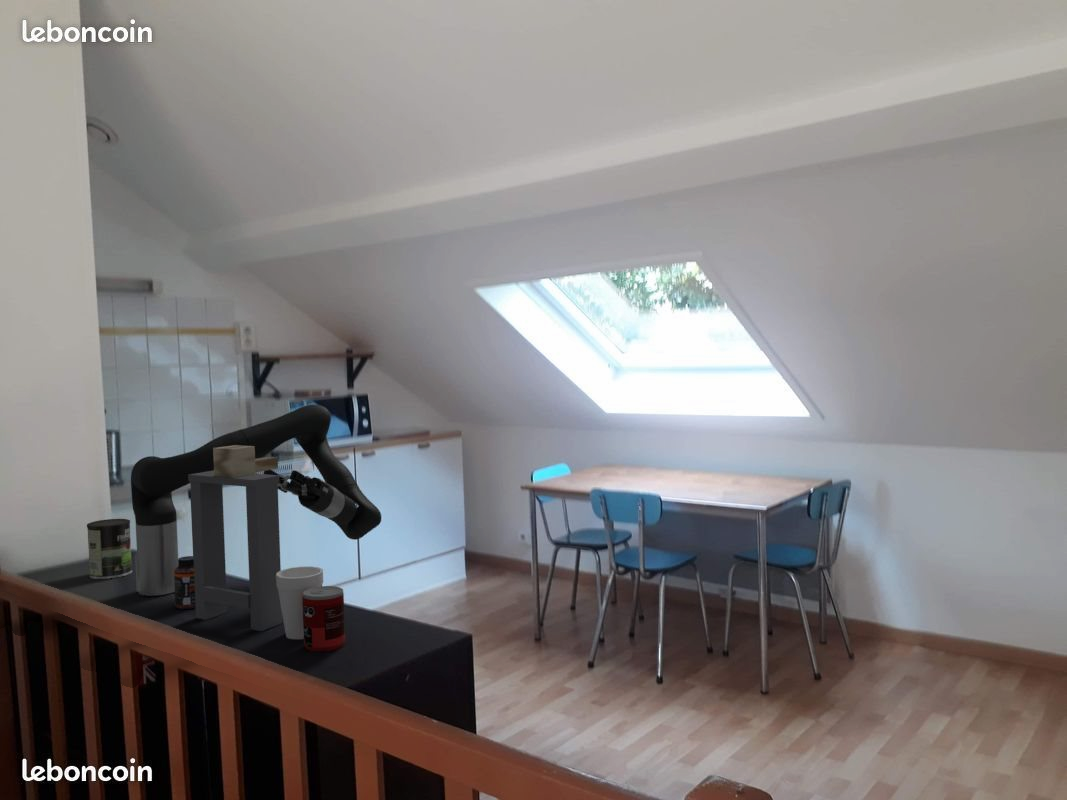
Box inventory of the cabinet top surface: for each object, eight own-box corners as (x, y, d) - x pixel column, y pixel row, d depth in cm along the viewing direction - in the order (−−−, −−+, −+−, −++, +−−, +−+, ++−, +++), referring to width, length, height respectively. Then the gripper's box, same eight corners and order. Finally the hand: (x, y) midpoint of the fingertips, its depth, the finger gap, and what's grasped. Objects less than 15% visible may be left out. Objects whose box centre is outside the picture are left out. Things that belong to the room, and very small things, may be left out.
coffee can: (139, 569, 229) (137, 518, 228) (120, 579, 218) (118, 526, 218) (102, 569, 229) (99, 518, 228) (81, 580, 218) (78, 526, 218)
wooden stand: (194, 618, 185) (188, 474, 183) (219, 609, 191) (214, 470, 189) (259, 632, 175) (253, 480, 173) (284, 622, 181) (279, 475, 179)
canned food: (307, 639, 170) (305, 586, 169) (347, 638, 171) (346, 584, 170) (300, 653, 162) (298, 597, 162) (342, 651, 163) (340, 595, 162)
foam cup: (282, 644, 167) (280, 580, 166) (274, 631, 175) (271, 570, 174) (330, 636, 171) (328, 574, 171) (319, 624, 180) (317, 564, 179)
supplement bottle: (193, 610, 191) (191, 561, 190) (169, 609, 192) (167, 560, 191) (208, 602, 197) (206, 555, 196) (185, 601, 198) (183, 554, 197)
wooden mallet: (214, 475, 180) (213, 448, 180) (263, 467, 192) (262, 441, 192) (233, 477, 177) (232, 449, 177) (282, 468, 190) (281, 442, 189)
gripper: (305, 482, 210) (261, 456, 197) (349, 486, 203) (307, 459, 191) (295, 510, 207) (250, 486, 194) (339, 515, 200) (295, 490, 188)
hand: (278, 473), depth 193 cm, fingers open, 8 cm apart
